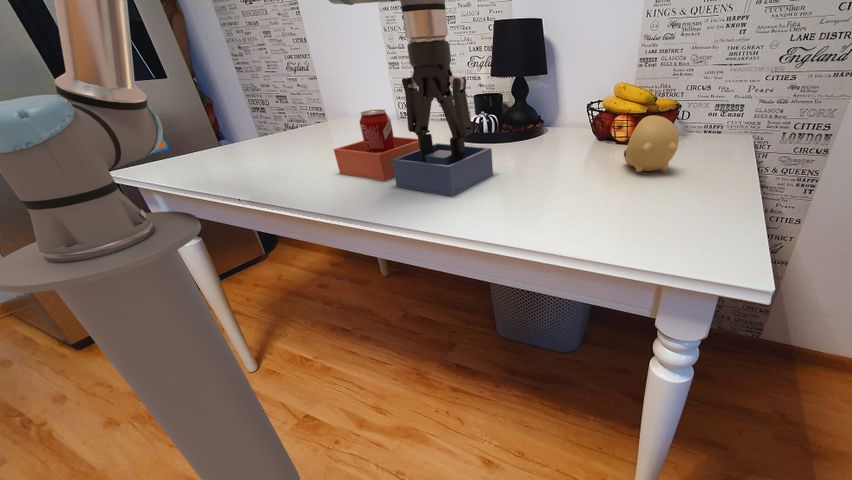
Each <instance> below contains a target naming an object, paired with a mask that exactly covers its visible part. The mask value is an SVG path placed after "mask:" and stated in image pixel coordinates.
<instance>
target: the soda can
mask: <svg viewBox="0 0 852 480" xmlns="http://www.w3.org/2000/svg"><path fill="white" fill-rule="evenodd" d="M392 125H393V124H392V119H391V117H390V116H389V115H388V114H387V110H386V109H369V110H363V111H361V112H360V119H359V126H360V131H361V134H362V138H363V140H364V144H365V148H366V152H370V153H378V154H380V153H383V152H386V151H388V150H391V149H394V148H396V146H395V141H394V137H395V136H394V131H393V126H392ZM363 140H362V141H363Z"/></svg>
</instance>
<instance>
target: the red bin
mask: <svg viewBox="0 0 852 480" xmlns="http://www.w3.org/2000/svg"><path fill="white" fill-rule="evenodd" d="M394 141H395V146H396V148H394V149H391V150H388V151H386V152H383V153H380V154H378V153H370V152H366V148H365V144H364V140H360V141H356V142H353V143H350V144H347V145H343V146H340V147H336V148H333V152H334V156H335V160H336V164H337V168H338V171H339V174H341V175H345V176H346V175H347V176H352V177H359V178H365V179H371V180H377V181H383V182H385V181H387V180H388V181H389V180H390V179H392V178H395V176H394V171H393V166H392V161H391V160H392V159H395V158H397V157H400V156H403V155H406V154H408V153H411V152H414V151H417V150H419V149H420V148H419V142H418V138H413V137H403V136H394Z"/></svg>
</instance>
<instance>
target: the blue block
mask: <svg viewBox="0 0 852 480" xmlns="http://www.w3.org/2000/svg"><path fill="white" fill-rule="evenodd" d="M425 160H426V163H432V164H440V165H451V164H452V155H451V151H446V150H439V151H436V152H434V153H431V154H428V155H426V156H425Z"/></svg>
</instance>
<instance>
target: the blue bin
mask: <svg viewBox="0 0 852 480" xmlns="http://www.w3.org/2000/svg"><path fill="white" fill-rule="evenodd" d="M433 150H434V152H436V151H439V150H446V151H451V146H450V143H440V142H436V143H433ZM492 151H493V150H492V147H484V146H472V145H465V154H463V159H462V160H460V161H458V162H455V163H453V164H451V165H440V164H432V163H424V161H423V154H422V151H420V149H419V150H417V151H414V152H411V153H408V154H406V155H403V156H400V157H397V158H395V159H392V160H391V161H392V166H393V171H394V176H395V177H394V181H395V185H396V187H397V188H401V189H407V190H412V191H413V190H414V191H420V192H424V193H430V194H431V193H432V194H437V195H441V196H449V197H454V196H456V195H457V194H460V193H461V192H463V191H465V190H467V189H469V188H471V187H473V186H474V185H476V184H478V183H480V182H482V181H484V180H486V179H488V178H489V177H491V176H493V175H494V172H493V171H494V167H493V153H492Z"/></svg>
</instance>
